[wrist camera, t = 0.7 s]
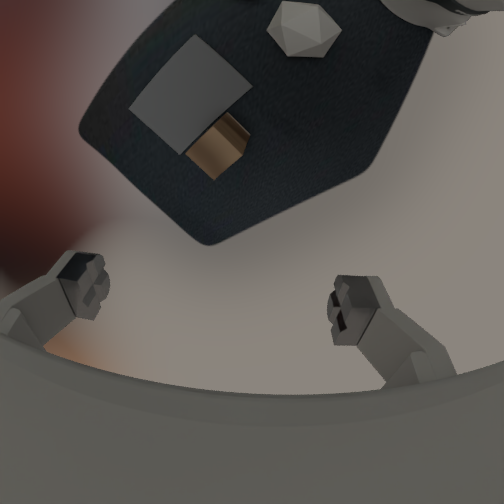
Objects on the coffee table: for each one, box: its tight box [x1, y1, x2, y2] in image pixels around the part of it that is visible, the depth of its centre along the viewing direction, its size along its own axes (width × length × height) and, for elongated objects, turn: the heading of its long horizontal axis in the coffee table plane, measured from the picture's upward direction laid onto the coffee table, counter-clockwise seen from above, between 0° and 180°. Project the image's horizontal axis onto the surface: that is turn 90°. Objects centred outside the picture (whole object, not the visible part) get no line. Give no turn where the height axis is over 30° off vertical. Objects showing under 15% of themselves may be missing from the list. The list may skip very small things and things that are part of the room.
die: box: [267, 1, 342, 57], centre depth 25 cm, size 8×9×10 cm
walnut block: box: [185, 112, 250, 180], centre depth 35 cm, size 5×5×10 cm
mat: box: [129, 34, 253, 155], centre depth 35 cm, size 16×12×1 cm
